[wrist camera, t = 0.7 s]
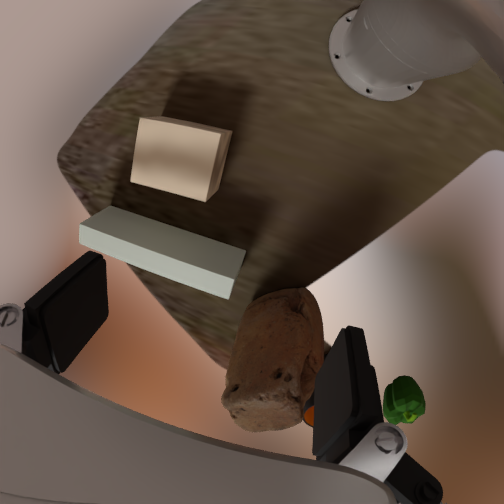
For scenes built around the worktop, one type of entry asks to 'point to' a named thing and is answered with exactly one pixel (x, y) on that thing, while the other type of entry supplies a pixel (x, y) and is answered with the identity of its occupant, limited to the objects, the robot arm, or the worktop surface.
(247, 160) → the worktop surface
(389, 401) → the bell pepper
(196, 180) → the beech block
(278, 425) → the brown rounded tall lump
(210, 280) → the sage board
